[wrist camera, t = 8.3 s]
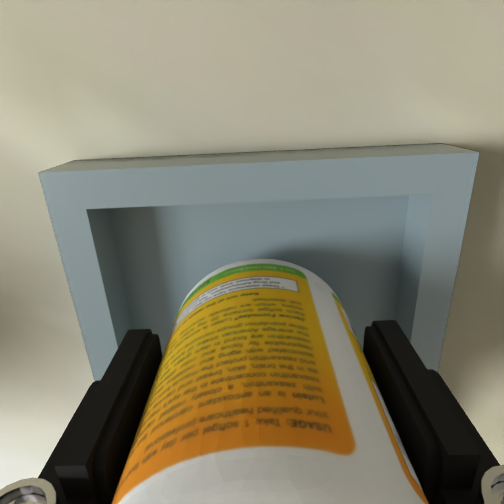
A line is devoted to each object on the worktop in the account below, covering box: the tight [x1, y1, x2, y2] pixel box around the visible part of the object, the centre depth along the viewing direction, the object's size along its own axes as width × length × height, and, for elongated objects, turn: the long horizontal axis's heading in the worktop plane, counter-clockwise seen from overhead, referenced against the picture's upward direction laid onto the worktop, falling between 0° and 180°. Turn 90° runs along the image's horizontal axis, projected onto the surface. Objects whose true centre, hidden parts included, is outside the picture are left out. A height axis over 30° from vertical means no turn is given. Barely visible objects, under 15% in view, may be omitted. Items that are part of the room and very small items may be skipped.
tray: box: [38, 143, 479, 381], centre depth 12 cm, size 11×11×2 cm
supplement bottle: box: [111, 259, 429, 504], centre depth 7 cm, size 5×5×10 cm
